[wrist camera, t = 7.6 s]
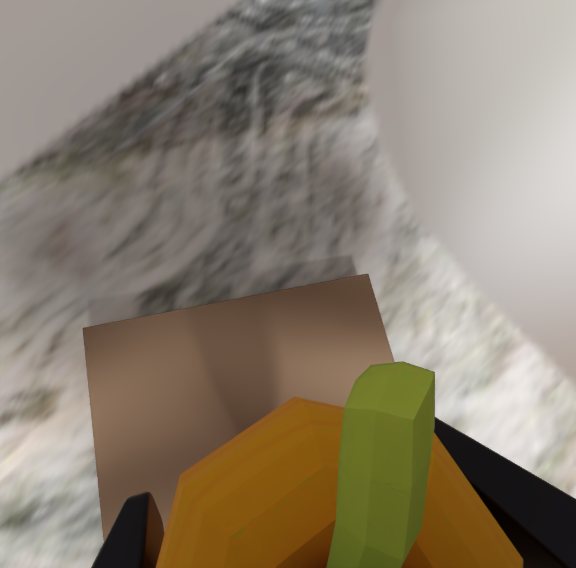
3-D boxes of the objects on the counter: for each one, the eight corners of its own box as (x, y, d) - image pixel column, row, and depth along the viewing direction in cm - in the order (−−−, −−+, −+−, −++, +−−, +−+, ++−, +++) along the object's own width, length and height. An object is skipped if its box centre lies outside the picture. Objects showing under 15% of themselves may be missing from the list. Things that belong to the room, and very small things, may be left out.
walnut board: (460, 626, 16) (477, 641, 15) (135, 742, 14) (126, 770, 13) (360, 281, 20) (368, 273, 19) (92, 334, 18) (82, 328, 17)
